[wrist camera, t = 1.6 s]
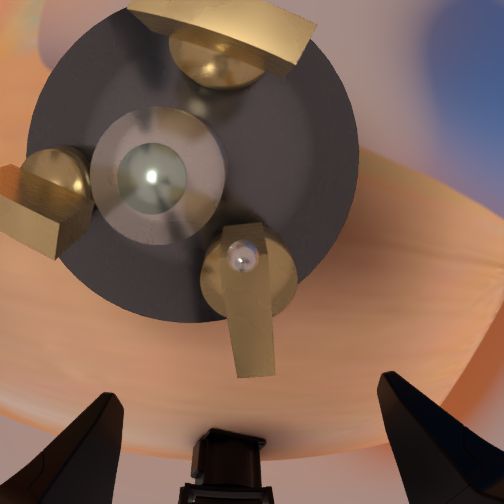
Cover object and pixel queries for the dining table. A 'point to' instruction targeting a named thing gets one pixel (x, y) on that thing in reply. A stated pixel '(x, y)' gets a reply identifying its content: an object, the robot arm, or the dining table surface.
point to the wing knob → (249, 290)
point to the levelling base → (262, 150)
